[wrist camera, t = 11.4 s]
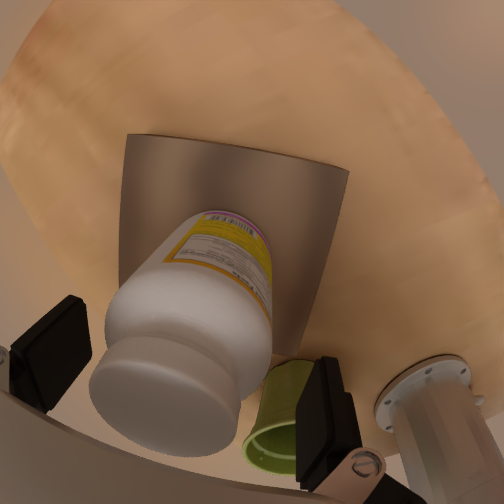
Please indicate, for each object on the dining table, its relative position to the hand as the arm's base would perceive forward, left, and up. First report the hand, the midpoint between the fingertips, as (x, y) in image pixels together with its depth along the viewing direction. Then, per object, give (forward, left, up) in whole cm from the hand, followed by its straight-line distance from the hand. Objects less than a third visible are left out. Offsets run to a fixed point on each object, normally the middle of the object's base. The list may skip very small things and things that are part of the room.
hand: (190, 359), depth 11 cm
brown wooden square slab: (+1, 0, -13) cm, 13 cm away
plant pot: (-8, +13, -13) cm, 20 cm away
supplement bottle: (0, 0, -10) cm, 10 cm away
